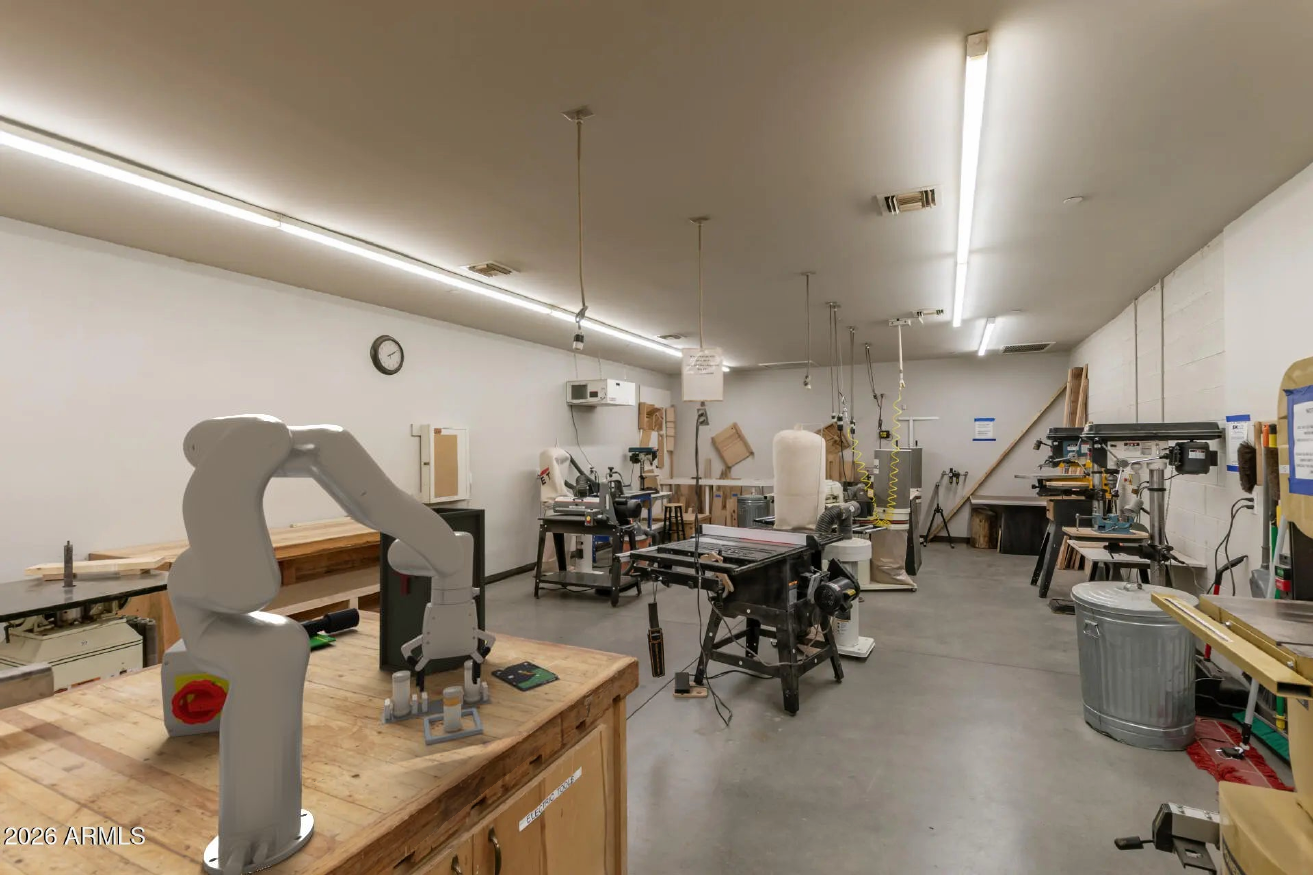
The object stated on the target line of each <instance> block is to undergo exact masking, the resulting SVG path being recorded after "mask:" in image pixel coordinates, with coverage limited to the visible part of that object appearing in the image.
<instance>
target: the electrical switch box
mask: <svg viewBox="0 0 1313 875" xmlns="http://www.w3.org/2000/svg"><path fill="white" fill-rule="evenodd" d="M160 681H161V697H162V698H161V700H162V710H163V712H162V713H163V723H164V727H165V729H166V732H167V734H168V737H170V738H174V737H176V736H177V737H182V736H191V735H201V734H206V733H207V734H208V732H209V733H216V732H217V733H218V732H220V720H221V714H222V710H223V706H224V703H225V701H226V698H227V695H228V691H229V681H227V680H224V679H222V678H219V677H215V676H213V675H210V674H207V673H205V672H203V671H201V670H200V669H198V668H197V667H196V666H195V665H194V663H193V662H192V660H191V659H190V657H189V655H188V653H187V650H186V648H185V645H184V642H183V639H182V637H181V638H180V639H179V640H178V641H176V642H175V643H174V644H173V645H171V646H170V647H169V648H168V649H167V650H166V651H164V652H163V654H162V659H161V667H160Z"/></svg>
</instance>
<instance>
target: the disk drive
mask: <svg viewBox="0 0 1313 875" xmlns="http://www.w3.org/2000/svg"><path fill="white" fill-rule="evenodd" d="M490 675H491V676H493V677H495V678H496V679H498V680H500V681H503V683H506V684H508V685H510V686H512V687H513V688H515V689H517V690H518V691H520V692H526V691H530V690H533V689H535V688H538V687H541V686H544V685H547V684H549V683H552V682H555V681H558V680H561V678H559V675H557V674H556V673H554V672H552V671H549V670H547V669H545V668H543V667H541V666H539V665H537V664H535V663H533V662H530V661H528V660H526V661H523V662H519V663H516V664H512V665H509V666H506V668H504V669H500V668H499V669H495V670H492V671H491V672H490Z"/></svg>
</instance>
